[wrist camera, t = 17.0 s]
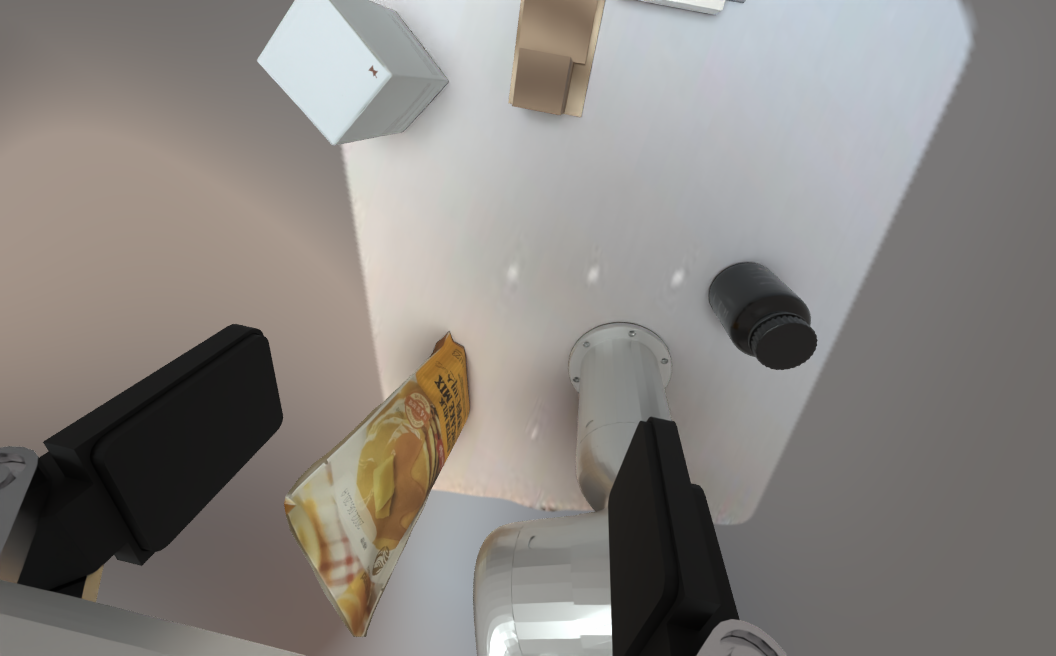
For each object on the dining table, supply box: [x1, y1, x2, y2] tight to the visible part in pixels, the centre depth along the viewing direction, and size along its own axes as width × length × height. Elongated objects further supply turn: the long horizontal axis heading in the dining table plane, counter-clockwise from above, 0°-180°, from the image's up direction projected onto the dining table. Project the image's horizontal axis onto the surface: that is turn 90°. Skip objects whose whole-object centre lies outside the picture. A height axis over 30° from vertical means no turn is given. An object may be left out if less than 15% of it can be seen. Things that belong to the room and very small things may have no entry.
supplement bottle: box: [709, 263, 818, 370], centre depth 39 cm, size 7×7×12 cm
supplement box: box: [257, 0, 448, 145], centre depth 34 cm, size 7×7×13 cm
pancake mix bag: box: [284, 332, 470, 637], centre depth 45 cm, size 7×19×28 cm, turn 179°
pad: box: [509, 0, 605, 117], centre depth 36 cm, size 9×7×1 cm
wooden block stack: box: [512, 0, 598, 115], centre depth 33 cm, size 10×6×6 cm, turn 170°
